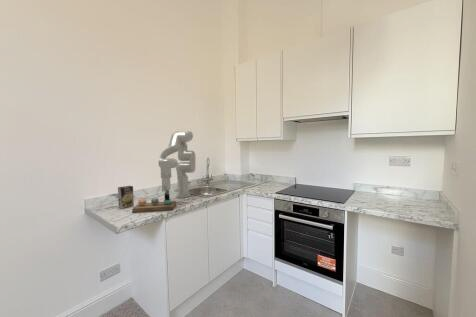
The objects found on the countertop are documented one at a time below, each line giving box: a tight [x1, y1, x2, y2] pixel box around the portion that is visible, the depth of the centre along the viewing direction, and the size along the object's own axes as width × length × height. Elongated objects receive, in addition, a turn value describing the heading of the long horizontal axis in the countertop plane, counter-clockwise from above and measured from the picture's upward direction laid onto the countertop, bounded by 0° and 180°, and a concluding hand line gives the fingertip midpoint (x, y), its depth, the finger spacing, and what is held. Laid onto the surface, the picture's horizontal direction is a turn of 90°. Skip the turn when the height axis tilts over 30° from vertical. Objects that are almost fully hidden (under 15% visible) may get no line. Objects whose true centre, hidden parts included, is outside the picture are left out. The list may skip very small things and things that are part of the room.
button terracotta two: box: [138, 198, 147, 205], centre depth 155 cm, size 5×5×3 cm
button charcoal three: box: [150, 197, 159, 204], centre depth 156 cm, size 5×5×3 cm
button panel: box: [131, 200, 177, 214], centre depth 156 cm, size 14×28×3 cm, turn 98°
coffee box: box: [117, 185, 135, 210], centre depth 162 cm, size 9×6×16 cm
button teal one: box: [163, 198, 172, 205], centre depth 157 cm, size 5×5×3 cm
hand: (167, 199), depth 157 cm, fingers closed
